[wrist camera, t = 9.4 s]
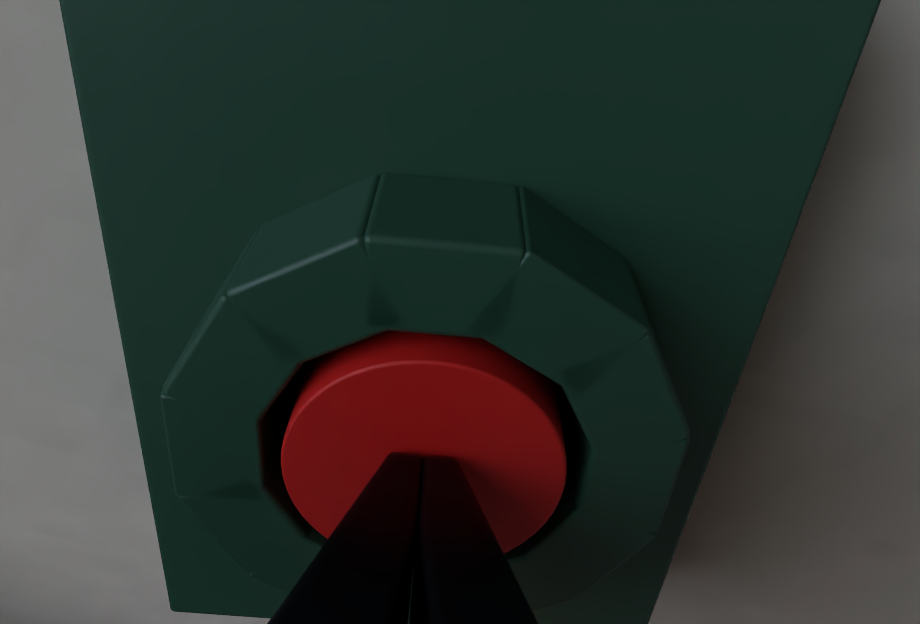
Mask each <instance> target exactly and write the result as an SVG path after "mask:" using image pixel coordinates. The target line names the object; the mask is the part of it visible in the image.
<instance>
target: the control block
mask: <svg viewBox="0 0 920 624" xmlns="http://www.w3.org/2000/svg"><path fill="white" fill-rule="evenodd" d="M59 1H60V6H61V12H62V17H63V23H64V28H65V34H66V39H67V45H68V50H69V55H70V61H71V66H72V72H73V77H74V83H75V88H76V94H77V99H78V105H79V110H80V116H81V121H82V126H83V132H84V137H85V143H86V148H87V154H88V159H89V165H90V170H91V176H92V181H93V186H94V192H95V197H96V203H97V208H98V214H99V219H100V225H101V230H102V236H103V241H104V247H105V252H106V257H107V263H108V268H109V274H110V279H111V285H112V290H113V296H114V301H115V307H116V312H117V317H118V323H119V328H120V334H121V339H122V345H123V350H124V356H125V361H126V367H127V372H128V378H129V383H130V388H131V394H132V399H133V405H134V410H135V416H136V421H137V427H138V432H139V438H140V443H141V448H142V454H143V459H144V465H145V470H146V476H147V481H148V487H149V492H150V498H151V503H152V509H153V514H154V519H155V525H156V530H157V536H158V541H159V547H160V552H161V558H162V563H163V569H164V574H165V579H166V585H167V590H168V596H169V601H170V607H171V610H172V611H176V612H190V613H203V614H217V615H231V616H245V617H259V618H272V617H273V615H274V614H275V612H276V611H277V610H278V608H279V607H280V605H281V604H282V603H283V601H284V600H285V598H286V597H287V596H288V594H289V593H290V591H291V590H292V589H293V587H294V586H295V584H296V583H297V582H298V580H299V579H300V577H301V576H302V575H303V573H304V572H305V570H306V569H307V568H308V566H309V565H310V563H311V562H312V561H313V559H314V558H315V556H316V555H317V554H318V552H319V551H320V549H321V548H322V547H323V545H324V544H325V542H326V541H327V540H328V539H327V538H326V537H324V536H323V535H322V534H321V533H319V532H318V531H317V530H316V529H315V528H313V527H312V526H311V525H310V524H309V523H308V521H307V520H306V519H305V518H304V517H303V516H302V515H301V513H300V512H299V511H298V509H297V508H296V506H295V505H294V503H293V501H292V499H291V497H290V495H289V493H288V492H287V489H286V485H285V482H284V479H283V475H282V468H281V448H282V444H283V439H284V435H285V432H286V429H287V426H288V422H289V419H290V416H291V413H292V410H293V407H294V403H295V400H296V397H297V394H298V391H299V388H300V384H301V381H302V378H303V375H304V372H305V369H306V365H307V362H308V361H309V360H311V359H314V358H317V357H319V356H322V355H324V354H327V353H330V352H332V351H335V350H338V349H340V348H343V347H345V346H348V345H351V344H353V343H356V342H359V341H361V340H364V339H367V338H369V337H372V336H374V335H377V334H380V333H382V332H385V331H388V330H390V331H401V332H413V333H424V334H436V335H447V336H459V337H470V338H482V339H485V340H486V341H488V342H490V343H491V344H493V345H495V346H496V347H498V348H500V349H501V350H503V351H505V352H506V353H508V354H510V355H511V356H513V357H515V358H516V359H518V360H520V361H521V362H523V363H525V364H526V365H528V366H530V367H531V368H533V369H535V370H536V371H538V372H540V373H541V374H543V375H545V376H546V377H548V378H550V379H551V380H553V381H555V383H556V390H557V397H558V404H559V411H560V417H561V424H562V431H563V438H564V445H565V451H566V458H567V475H566V482H565V487H564V490H563V493H562V496H561V499H560V501H559V503H558V505H557V507H556V508H555V510H554V512H553V514H552V515H551V516H550V518H549V519H548V520H547V522H546V523H545V524H544V525H543V526H542V527H541V528H540V529H539V530H538V531H537V532H536V533H535V534H534V535H533V536H531V537H530V538H529V539H527V540H526V541H525V542H524V543H522V544H520V545H519V546H517V547H515V548H514V549H512V550H510V551H508V552H506V553H504V555H505V557H506V559H507V561H508V563H509V565H510V567H511V569H512V571H513V573H514V575H515V577H516V579H517V581H518V583H519V585H520V587H521V589H522V591H523V593H524V595H525V597H526V599H527V601H528V603H529V605H530V607H531V609H532V611H533V614H534V616H535V618H536V620H537V622H538V624H648V622H649V620H650V617H651V614H652V612H653V609H654V606H655V604H656V601H657V598H658V596H659V593H660V590H661V587H662V585H663V582H664V579H665V577H666V574H667V571H668V569H669V566H670V563H671V561H672V558H673V555H674V553H675V550H676V547H677V545H678V542H679V539H680V537H681V534H682V531H683V529H684V526H685V523H686V521H687V518H688V515H689V513H690V510H691V507H692V505H693V502H694V499H695V497H696V494H697V491H698V488H699V486H700V483H701V480H702V478H703V475H704V472H705V470H706V467H707V464H708V462H709V459H710V456H711V454H712V451H713V448H714V446H715V443H716V440H717V438H718V435H719V432H720V430H721V427H722V424H723V422H724V419H725V416H726V414H727V411H728V408H729V406H730V403H731V400H732V397H733V395H734V392H735V389H736V387H737V384H738V381H739V379H740V376H741V373H742V371H743V368H744V365H745V363H746V360H747V357H748V355H749V352H750V349H751V347H752V344H753V341H754V339H755V336H756V333H757V331H758V328H759V325H760V323H761V320H762V317H763V315H764V312H765V309H766V307H767V304H768V301H769V298H770V296H771V293H772V290H773V288H774V285H775V282H776V280H777V277H778V274H779V272H780V269H781V266H782V264H783V261H784V258H785V256H786V253H787V250H788V248H789V245H790V242H791V240H792V237H793V234H794V232H795V229H796V226H797V224H798V221H799V218H800V216H801V213H802V210H803V207H804V205H805V202H806V199H807V197H808V194H809V191H810V189H811V186H812V183H813V181H814V178H815V175H816V173H817V170H818V167H819V165H820V162H821V159H822V157H823V154H824V151H825V149H826V146H827V143H828V141H829V138H830V135H831V133H832V130H833V127H834V125H835V122H836V119H837V117H838V114H839V111H840V108H841V106H842V103H843V100H844V98H845V95H846V92H847V90H848V87H849V84H850V82H851V79H852V76H853V74H854V71H855V68H856V66H857V63H858V60H859V58H860V55H861V52H862V50H863V47H864V44H865V42H866V39H867V36H868V34H869V31H870V28H871V26H872V23H873V20H874V17H875V15H876V12H877V9H878V7H879V4H880V1H881V0H59ZM412 578H413V576H412ZM411 590H412V587H411ZM410 602H411V598H410ZM409 613H410V609H409ZM408 624H409V618H408Z"/></svg>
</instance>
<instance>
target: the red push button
mask: <svg viewBox="0 0 920 624" xmlns="http://www.w3.org/2000/svg"><path fill="white" fill-rule="evenodd" d="M392 452H400V453H412V454H419V455H420V456H421V457H422V465H423V459H424V457H425V456H427V455H437V456H449V457H454V458H455V459H457V461H458V462H459V464H460V466H461V468H462V470H463V472H464V474H465V476H466V478H467V480H468V482H469V484H470V486H471V488H472V490H473V492H474V494H475V496H476V498H477V500H478V502H479V504H480V506H481V508H482V510H483V512H484V514H485V516H486V518H487V520H488V522H489V524H490V527H491V529H492V531H493V533H494V535H495V537H496V539H497V541H498V543H499V545H500V547H501V549H502V551H503V553H506V552H508V551H510V550H512V549H514V548H515V547H517V546H519V545H520V544H522V543H524V542H525V541H526V540H527V539H529V538H530V537H531V536H533V535H534V534H535V533H536V532H537V531H538V530H539V529H540V528H541V527H542V526H543V525H544V524H545V523H546V522H547V520H548V519H549V518H550V516H551V515H552V514H553V512H554V510H555V508H556V507H557V505H558V503H559V501H560V499H561V496H562V493H563V490H564V487H565V482H566V475H567V458H566V451H565V445H564V438H563V431H562V424H561V417H560V411H559V404H558V397H557V390H556V383H555V381H553V380H551V379H550V378H548V377H546V376H545V375H543V374H541V373H540V372H538V371H536V370H535V369H533V368H531V367H530V366H528V365H526V364H525V363H523V362H521V361H520V360H518V359H516V358H515V357H513V356H511V355H510V354H508V353H506V352H505V351H503V350H501V349H500V348H498V347H496V346H495V345H493V344H491V343H490V342H488V341H486V340H485V339H482V338H470V337H459V336H447V335H436V334H424V333H413V332H401V331H390V330H388V331H385V332H382V333H380V334H377V335H374V336H372V337H369V338H367V339H364V340H361V341H359V342H356V343H353V344H351V345H348V346H345V347H343V348H340V349H338V350H335V351H332V352H330V353H327V354H324V355H322V356H319V357H317V358H314V359H311V360H309V361H308V362H307V365H306V369H305V372H304V375H303V378H302V381H301V384H300V388H299V391H298V394H297V397H296V400H295V403H294V407H293V410H292V413H291V416H290V419H289V422H288V426H287V429H286V432H285V435H284V439H283V444H282V448H281V468H282V475H283V479H284V482H285V485H286V489H287V492H288V493H289V495H290V497H291V499H292V501H293V503H294V505H295V506H296V508H297V509H298V511H299V512H300V513H301V515H302V516H303V517H304V518H305V519H306V520H307V521H308V523H309V524H310V525H311V526H312V527H313V528H315V529H316V530H317V531H318V532H319V533H321V534H322V535H323V536H324V537H326V538H327V539H328V538H329V537H330V535H331V534H332V533H333V531H334V530H335V528H336V527H337V526H338V524H339V523H340V521H341V520H342V519H343V517H344V516H345V514H346V513H347V512H348V510H349V509H350V507H351V506H352V505H353V503H354V502H355V500H356V499H357V498H358V496H359V495H360V493H361V492H362V491H363V489H364V488H365V486H366V485H367V484H368V482H369V481H370V479H371V478H372V477H373V475H374V474H375V472H376V471H377V470H378V468H379V467H380V465H381V464H382V463H383V461H384V460H385V458H386V457H387V456H388V455H389V454H390V453H392ZM421 476H422V473H421Z"/></svg>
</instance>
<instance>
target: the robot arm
mask: <svg viewBox="0 0 920 624" xmlns="http://www.w3.org/2000/svg"><path fill="white" fill-rule="evenodd" d="M421 473H422V476H421ZM412 576H413V578H412ZM411 587H412V590H411ZM410 598H411V602H410ZM409 609H410V613H409ZM408 618H409V624H538V622H537V620H536V618H535V616H534V614H533V611H532V609H531V607H530V605H529V603H528V601H527V599H526V597H525V595H524V593H523V591H522V589H521V587H520V585H519V583H518V581H517V579H516V577H515V575H514V573H513V571H512V569H511V567H510V565H509V563H508V561H507V559H506V557H505V555H504V553H503V551H502V549H501V547H500V545H499V543H498V541H497V539H496V537H495V535H494V533H493V531H492V529H491V527H490V524H489V522H488V520H487V518H486V516H485V514H484V512H483V510H482V508H481V506H480V504H479V502H478V500H477V498H476V496H475V494H474V492H473V490H472V488H471V486H470V484H469V482H468V480H467V478H466V476H465V474H464V472H463V470H462V468H461V466H460V464H459V462H458V461H457V459H455V458H454V457H449V456H437V455H427V456H425V457H424V459H423V465H422V457H421V456H420V455H419V454H412V453H400V452H392V453H390V454H389V455H388V456H387V457H386V458H385V460H384V461H383V463H382V464H381V465H380V467H379V468H378V470H377V471H376V472H375V474H374V475H373V477H372V478H371V479H370V481H369V482H368V484H367V485H366V486H365V488H364V489H363V491H362V492H361V493H360V495H359V496H358V498H357V499H356V500H355V502H354V503H353V505H352V506H351V507H350V509H349V510H348V512H347V513H346V514H345V516H344V517H343V519H342V520H341V521H340V523H339V524H338V526H337V527H336V528H335V530H334V531H333V533H332V534H331V535H330V537H329V538H328V540H327V541H326V542H325V544H324V545H323V547H322V548H321V549H320V551H319V552H318V554H317V555H316V556H315V558H314V559H313V561H312V562H311V563H310V565H309V566H308V568H307V569H306V570H305V572H304V573H303V575H302V576H301V577H300V579H299V580H298V582H297V583H296V584H295V586H294V587H293V589H292V590H291V591H290V593H289V594H288V596H287V597H286V598H285V600H284V601H283V603H282V604H281V605H280V607H279V608H278V610H277V611H276V612H275V614H274V615H273V617H272V618H271V619H270V621H269V622H268V624H408Z"/></svg>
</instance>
